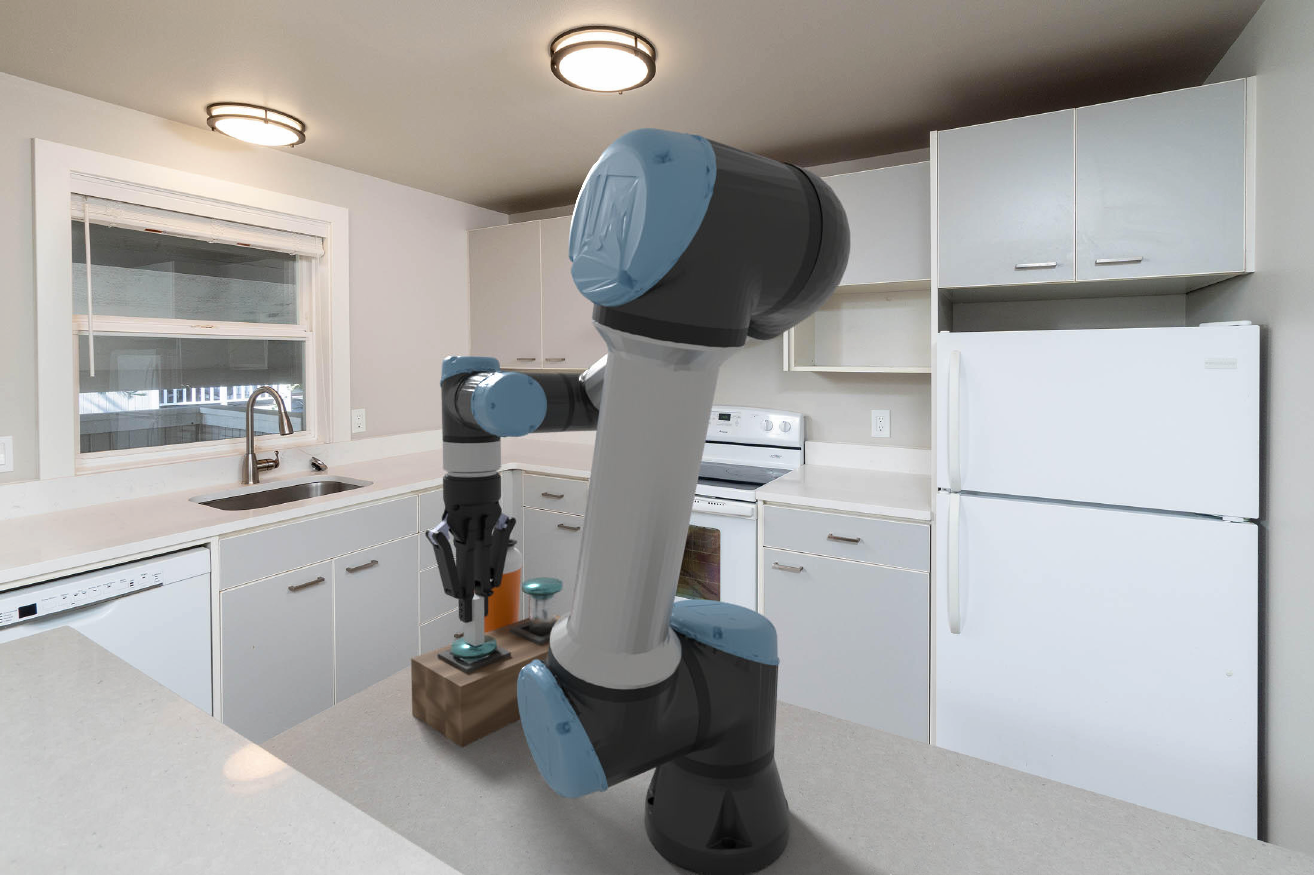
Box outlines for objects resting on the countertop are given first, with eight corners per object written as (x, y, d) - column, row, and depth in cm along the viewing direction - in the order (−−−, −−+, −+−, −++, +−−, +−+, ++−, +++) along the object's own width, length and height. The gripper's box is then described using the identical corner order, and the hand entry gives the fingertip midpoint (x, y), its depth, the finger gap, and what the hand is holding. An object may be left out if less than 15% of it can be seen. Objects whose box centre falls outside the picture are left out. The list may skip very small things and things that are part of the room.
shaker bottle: (516, 672, 102) (515, 548, 100) (460, 670, 102) (458, 547, 100) (528, 648, 111) (527, 534, 109) (476, 647, 111) (475, 533, 109)
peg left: (505, 704, 90) (505, 643, 89) (468, 721, 85) (467, 657, 84) (480, 690, 94) (480, 631, 93) (443, 706, 89) (442, 644, 88)
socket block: (598, 680, 99) (598, 626, 99) (461, 747, 81) (460, 681, 80) (547, 658, 107) (547, 607, 106) (412, 714, 89) (411, 654, 88)
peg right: (570, 640, 98) (570, 583, 98) (539, 652, 94) (539, 593, 93) (545, 629, 102) (545, 574, 101) (514, 641, 98) (513, 583, 97)
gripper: (496, 464, 94) (497, 621, 96) (412, 474, 84) (415, 648, 86) (528, 470, 89) (529, 635, 91) (443, 481, 79) (446, 666, 81)
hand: (474, 641), depth 89 cm, fingers closed
